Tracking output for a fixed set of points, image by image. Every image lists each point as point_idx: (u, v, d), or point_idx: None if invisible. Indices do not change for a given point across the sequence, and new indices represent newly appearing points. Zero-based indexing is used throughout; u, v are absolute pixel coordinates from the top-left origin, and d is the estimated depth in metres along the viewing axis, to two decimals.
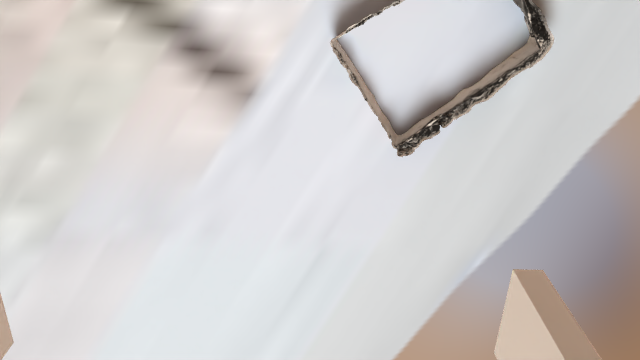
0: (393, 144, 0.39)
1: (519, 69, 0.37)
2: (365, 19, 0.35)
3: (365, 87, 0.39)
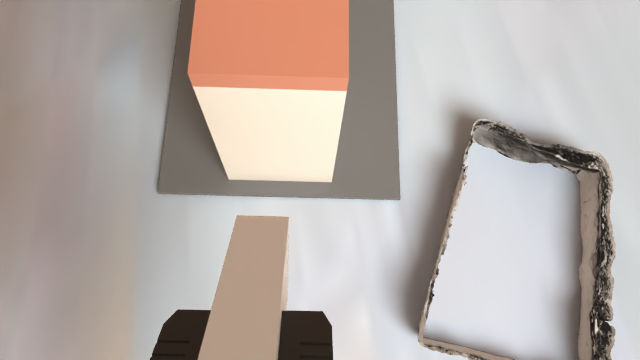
0: None
1: (605, 202, 0.30)
2: (431, 289, 0.28)
3: (494, 357, 0.28)
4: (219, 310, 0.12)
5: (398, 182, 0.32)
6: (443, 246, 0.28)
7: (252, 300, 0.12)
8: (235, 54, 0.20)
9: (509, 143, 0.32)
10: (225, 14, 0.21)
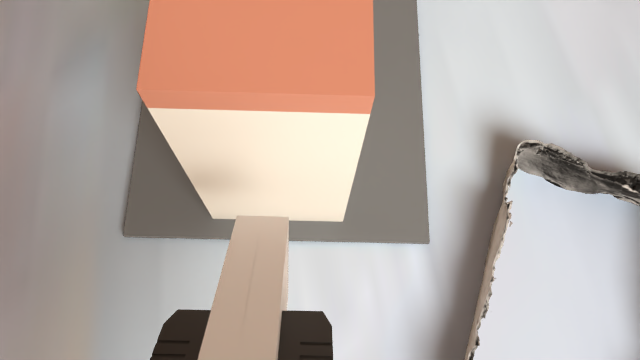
0: None
1: None
2: None
3: None
4: (219, 310, 0.12)
5: (427, 221, 0.25)
6: (484, 307, 0.22)
7: (252, 300, 0.12)
8: (207, 61, 0.14)
9: (562, 169, 0.25)
10: (194, 3, 0.14)
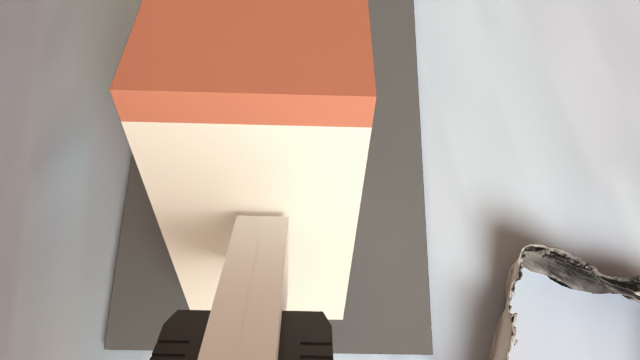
0: None
1: None
2: None
3: None
4: (219, 310, 0.12)
5: (429, 330, 0.23)
6: None
7: (252, 300, 0.12)
8: (191, 66, 0.13)
9: (569, 272, 0.23)
10: (182, 21, 0.14)
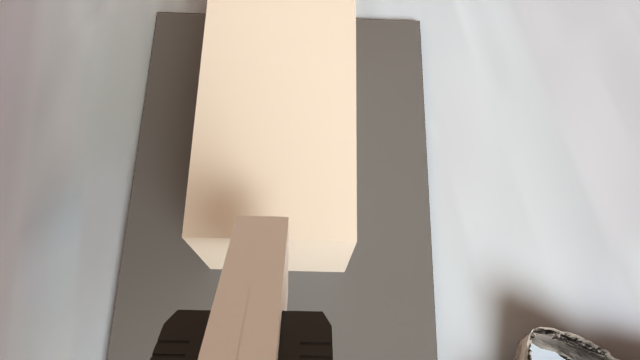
0: None
1: None
2: None
3: None
4: (219, 310, 0.12)
5: None
6: None
7: (252, 300, 0.12)
8: None
9: (581, 353, 0.22)
10: None
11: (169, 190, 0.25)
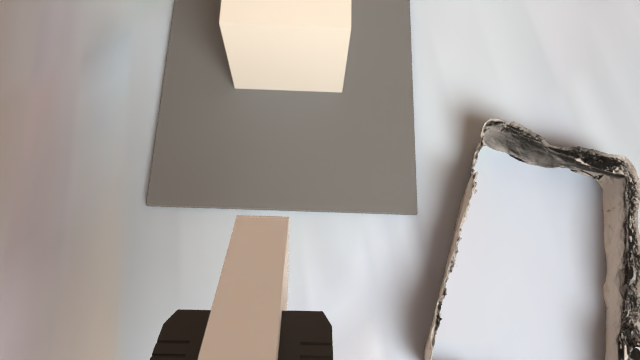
0: None
1: (633, 212, 0.27)
2: (438, 312, 0.25)
3: None
4: (219, 310, 0.12)
5: (415, 195, 0.28)
6: (451, 263, 0.25)
7: (252, 300, 0.12)
8: None
9: (523, 145, 0.28)
10: None
11: (201, 31, 0.31)
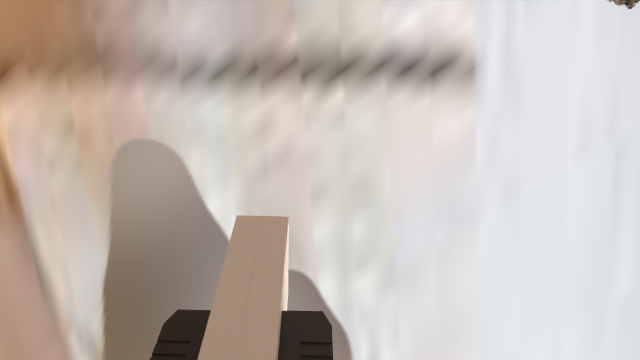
0: (617, 3, 0.37)
1: None
2: None
3: None
4: (219, 310, 0.12)
5: None
6: None
7: (252, 300, 0.12)
8: None
9: None
10: None
11: None
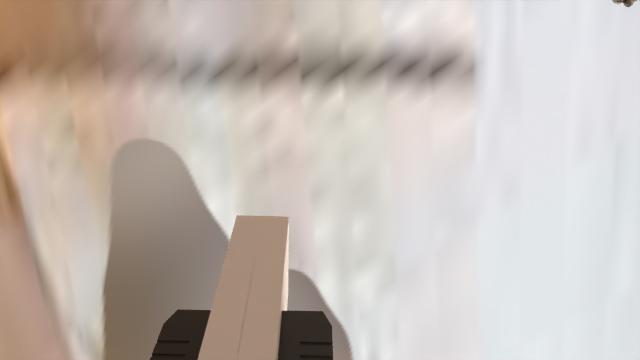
0: (615, 1, 0.37)
1: None
2: None
3: None
4: (219, 310, 0.12)
5: None
6: None
7: (252, 300, 0.12)
8: None
9: None
10: None
11: None
